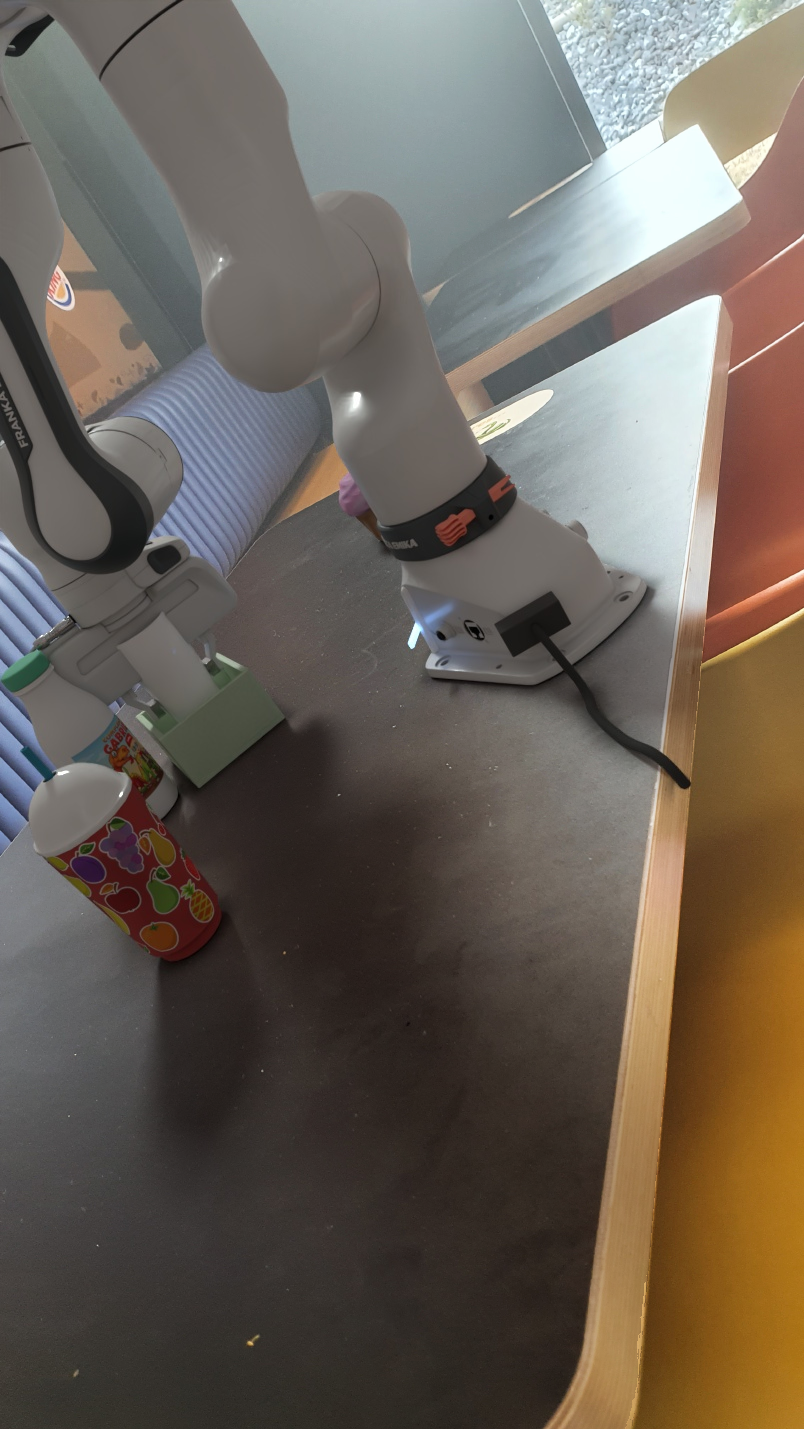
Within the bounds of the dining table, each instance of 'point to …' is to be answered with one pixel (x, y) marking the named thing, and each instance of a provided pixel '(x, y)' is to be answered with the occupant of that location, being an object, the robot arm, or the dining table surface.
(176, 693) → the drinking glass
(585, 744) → the dining table surface
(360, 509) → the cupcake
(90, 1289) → the dining table surface
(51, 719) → the milk bottle
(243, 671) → the tub
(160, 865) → the smoothie
